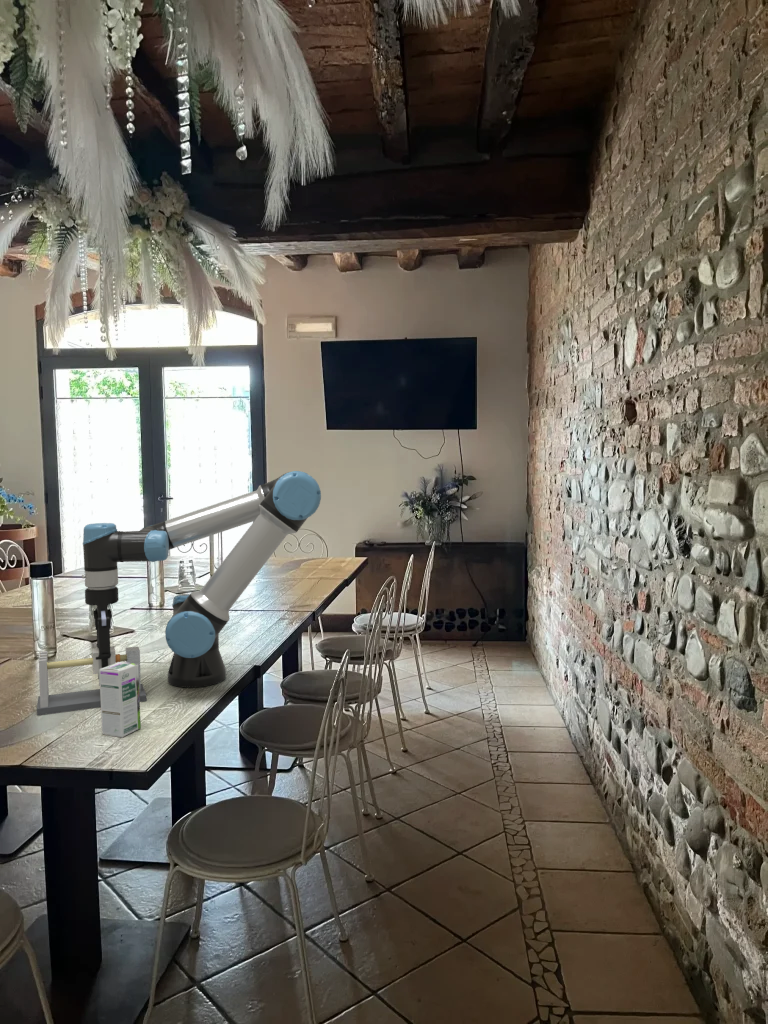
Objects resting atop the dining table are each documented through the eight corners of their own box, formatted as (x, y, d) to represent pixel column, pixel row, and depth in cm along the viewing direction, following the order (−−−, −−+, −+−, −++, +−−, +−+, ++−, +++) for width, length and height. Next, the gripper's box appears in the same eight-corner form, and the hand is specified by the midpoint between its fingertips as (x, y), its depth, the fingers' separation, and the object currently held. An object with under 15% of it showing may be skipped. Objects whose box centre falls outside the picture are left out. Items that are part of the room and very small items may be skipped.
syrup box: (122, 738, 149) (120, 670, 148) (100, 734, 151) (98, 667, 150) (141, 728, 154) (139, 663, 154) (119, 725, 157) (118, 660, 156)
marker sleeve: (114, 666, 176) (113, 646, 176) (115, 671, 172) (115, 651, 172) (92, 668, 174) (92, 648, 174) (93, 673, 170) (92, 653, 169)
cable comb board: (142, 689, 182) (141, 641, 181) (146, 701, 173) (145, 650, 172) (38, 702, 172) (36, 651, 171) (37, 715, 163) (35, 661, 162)
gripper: (83, 582, 178) (86, 673, 180) (85, 594, 162) (89, 694, 164) (115, 580, 182) (118, 669, 183) (120, 591, 165) (123, 689, 167)
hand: (104, 681), depth 173 cm, fingers closed on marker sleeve, 5 cm apart
